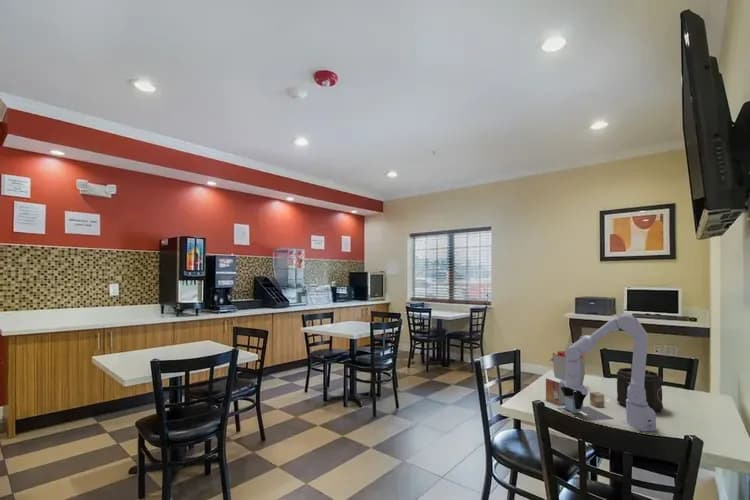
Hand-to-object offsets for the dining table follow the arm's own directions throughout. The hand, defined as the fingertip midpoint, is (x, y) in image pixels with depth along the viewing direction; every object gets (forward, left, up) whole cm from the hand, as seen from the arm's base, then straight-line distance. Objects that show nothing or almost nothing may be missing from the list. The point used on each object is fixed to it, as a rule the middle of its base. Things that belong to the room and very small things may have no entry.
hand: (573, 406), depth 164 cm
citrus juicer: (+38, -26, -3) cm, 46 cm away
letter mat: (-2, -4, -3) cm, 5 cm away
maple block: (+6, -17, -3) cm, 18 cm away
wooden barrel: (+3, -36, -3) cm, 36 cm away
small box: (+14, -2, -3) cm, 14 cm away
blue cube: (0, 0, -1) cm, 1 cm away
